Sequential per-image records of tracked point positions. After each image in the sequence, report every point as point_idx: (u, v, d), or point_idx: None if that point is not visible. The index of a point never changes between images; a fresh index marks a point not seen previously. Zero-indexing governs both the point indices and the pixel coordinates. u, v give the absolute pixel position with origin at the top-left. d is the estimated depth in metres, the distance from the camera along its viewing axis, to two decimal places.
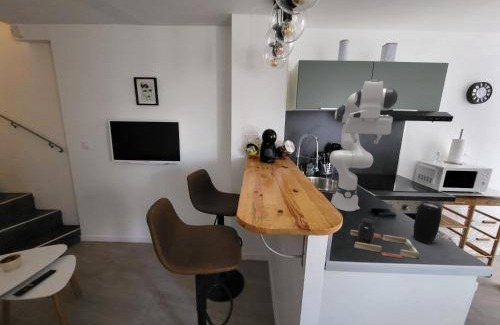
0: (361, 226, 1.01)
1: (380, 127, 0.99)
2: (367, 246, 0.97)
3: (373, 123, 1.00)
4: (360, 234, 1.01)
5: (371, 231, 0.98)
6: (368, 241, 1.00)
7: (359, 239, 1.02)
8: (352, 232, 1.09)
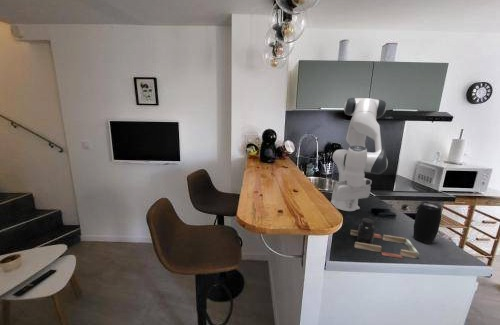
0: (361, 226, 1.01)
1: None
2: (367, 246, 0.97)
3: None
4: (360, 234, 1.01)
5: (371, 231, 0.98)
6: (368, 241, 1.00)
7: (359, 239, 1.02)
8: (352, 232, 1.09)
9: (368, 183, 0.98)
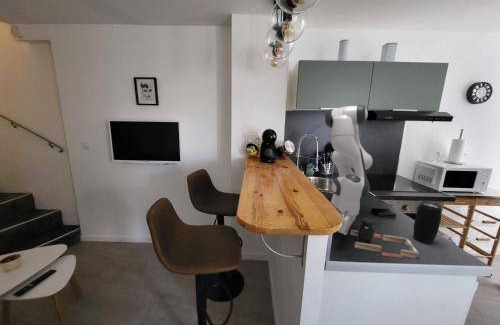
0: (361, 226, 1.01)
1: None
2: (367, 246, 0.97)
3: None
4: (360, 234, 1.01)
5: (371, 231, 0.98)
6: (368, 241, 1.00)
7: (359, 239, 1.02)
8: (352, 232, 1.09)
9: None
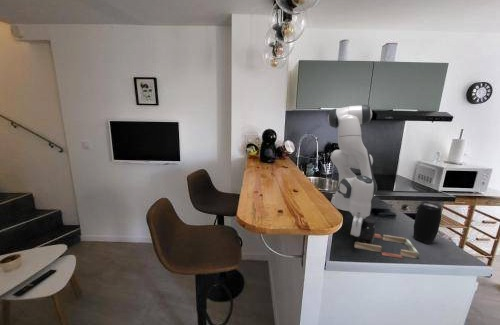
0: (362, 226, 1.01)
1: None
2: (367, 246, 0.97)
3: None
4: (360, 234, 1.01)
5: (372, 231, 0.98)
6: (369, 241, 0.99)
7: (359, 239, 1.02)
8: None
9: None
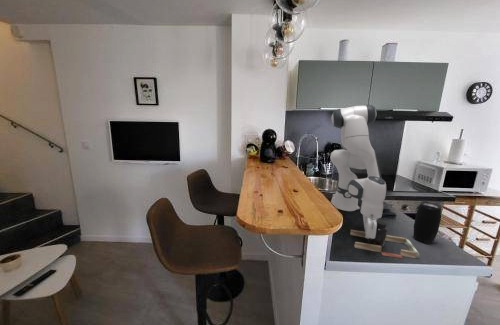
0: None
1: (366, 226, 0.97)
2: (367, 246, 0.97)
3: (366, 219, 0.99)
4: None
5: (383, 233, 0.97)
6: (379, 243, 0.98)
7: (370, 240, 1.01)
8: (352, 232, 1.09)
9: None
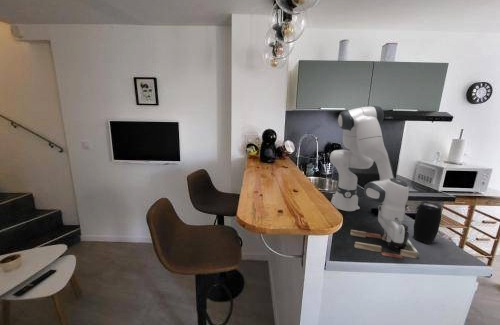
0: None
1: (390, 230, 0.93)
2: (367, 246, 0.97)
3: (389, 222, 0.96)
4: None
5: (405, 236, 0.94)
6: (401, 247, 0.96)
7: (391, 244, 0.98)
8: (352, 232, 1.09)
9: None
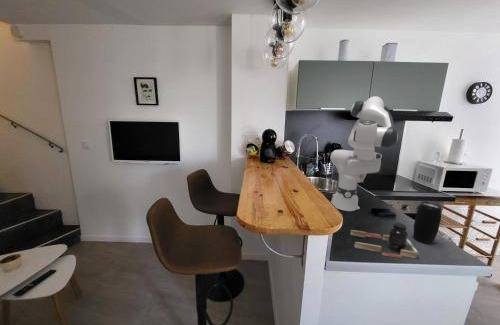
0: (392, 231, 0.98)
1: None
2: (367, 246, 0.97)
3: None
4: (391, 239, 0.98)
5: (404, 236, 0.95)
6: (400, 247, 0.96)
7: (390, 244, 0.99)
8: (352, 232, 1.09)
9: (378, 157, 1.00)
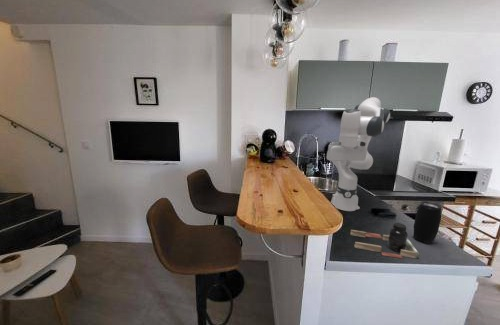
0: (392, 231, 0.98)
1: None
2: (367, 246, 0.97)
3: None
4: (391, 239, 0.98)
5: (403, 236, 0.95)
6: (400, 247, 0.96)
7: (390, 244, 0.99)
8: (352, 232, 1.09)
9: (363, 145, 1.03)
